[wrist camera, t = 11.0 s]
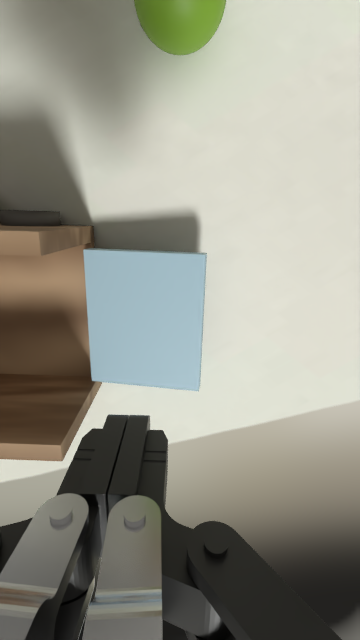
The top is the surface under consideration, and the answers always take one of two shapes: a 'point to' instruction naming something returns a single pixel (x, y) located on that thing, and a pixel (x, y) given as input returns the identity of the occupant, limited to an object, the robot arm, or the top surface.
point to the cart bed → (43, 335)
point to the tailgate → (145, 316)
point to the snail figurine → (180, 23)
